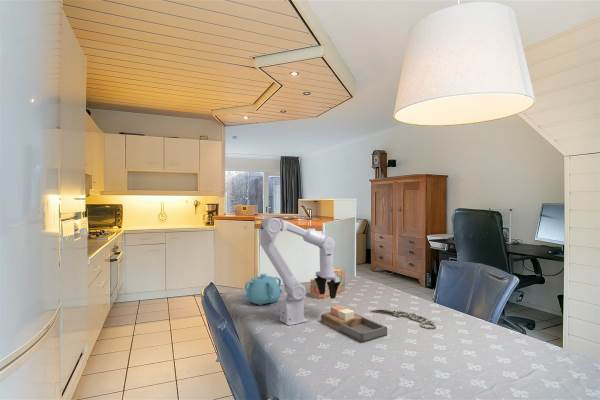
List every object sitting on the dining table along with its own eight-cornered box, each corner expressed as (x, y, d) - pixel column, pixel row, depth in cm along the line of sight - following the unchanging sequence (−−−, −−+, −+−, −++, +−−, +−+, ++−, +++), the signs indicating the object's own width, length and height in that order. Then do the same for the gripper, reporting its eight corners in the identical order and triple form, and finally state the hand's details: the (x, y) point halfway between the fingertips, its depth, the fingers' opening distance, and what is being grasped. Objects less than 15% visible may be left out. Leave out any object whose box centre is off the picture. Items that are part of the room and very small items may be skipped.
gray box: (361, 343, 112) (361, 334, 112) (340, 331, 123) (339, 323, 123) (387, 335, 118) (387, 327, 118) (364, 325, 129) (364, 317, 129)
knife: (369, 310, 144) (384, 304, 151) (370, 313, 144) (384, 307, 151) (429, 329, 122) (443, 321, 128) (429, 333, 122) (443, 325, 128)
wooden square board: (339, 331, 123) (339, 323, 123) (321, 321, 133) (321, 314, 133) (364, 325, 129) (364, 317, 129) (344, 316, 139) (344, 309, 139)
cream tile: (345, 320, 126) (345, 313, 126) (338, 317, 130) (338, 310, 130) (354, 318, 128) (354, 311, 128) (347, 315, 132) (347, 308, 132)
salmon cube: (337, 316, 130) (337, 310, 130) (330, 313, 134) (330, 307, 134) (346, 314, 132) (346, 308, 132) (339, 311, 136) (339, 305, 136)
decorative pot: (257, 296, 172) (256, 270, 172) (285, 298, 166) (284, 271, 166) (240, 305, 157) (240, 276, 157) (271, 308, 151) (270, 278, 151)
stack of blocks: (319, 299, 164) (319, 275, 165) (310, 297, 169) (309, 273, 169) (345, 291, 180) (344, 268, 180) (336, 289, 184) (335, 267, 184)
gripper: (344, 265, 136) (345, 298, 136) (324, 260, 148) (325, 290, 148) (330, 267, 132) (331, 301, 132) (311, 262, 144) (312, 293, 144)
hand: (327, 296), depth 140 cm, fingers open, 7 cm apart
